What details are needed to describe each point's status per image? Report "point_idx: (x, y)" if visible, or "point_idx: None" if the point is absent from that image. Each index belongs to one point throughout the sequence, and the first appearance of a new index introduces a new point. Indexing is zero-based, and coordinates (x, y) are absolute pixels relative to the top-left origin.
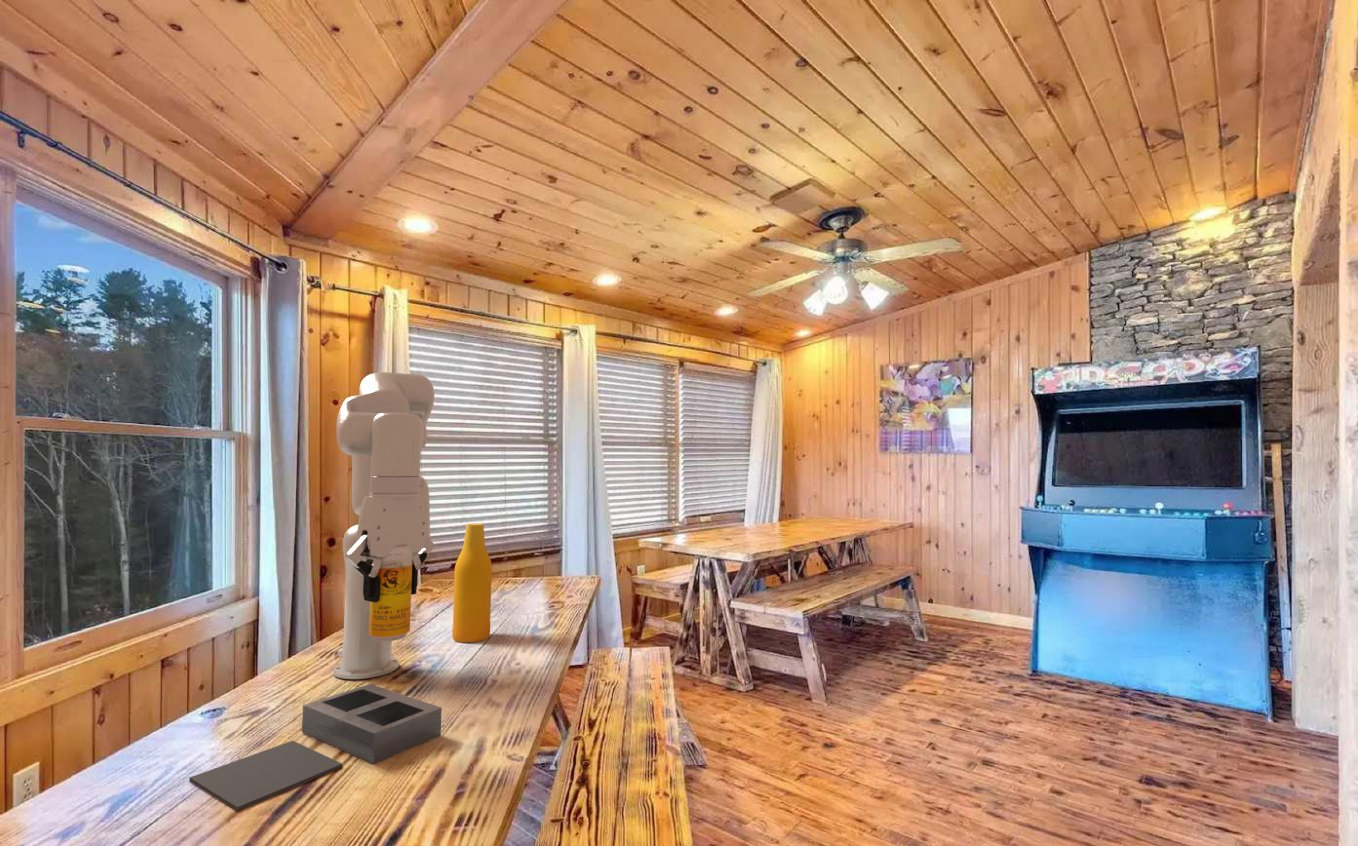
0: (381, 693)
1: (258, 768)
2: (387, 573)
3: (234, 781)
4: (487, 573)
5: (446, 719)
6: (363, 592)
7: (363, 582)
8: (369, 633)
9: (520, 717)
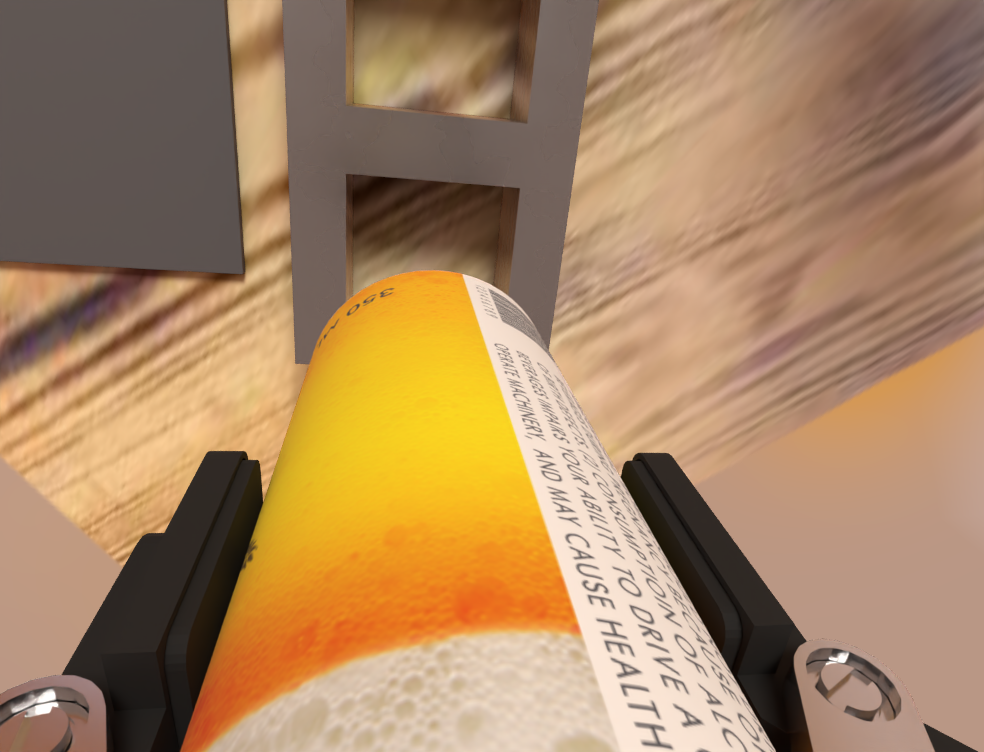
0: (548, 54)
1: (43, 60)
2: None
3: None
4: None
5: (621, 266)
6: (139, 551)
7: (84, 638)
8: (316, 343)
9: (709, 431)
